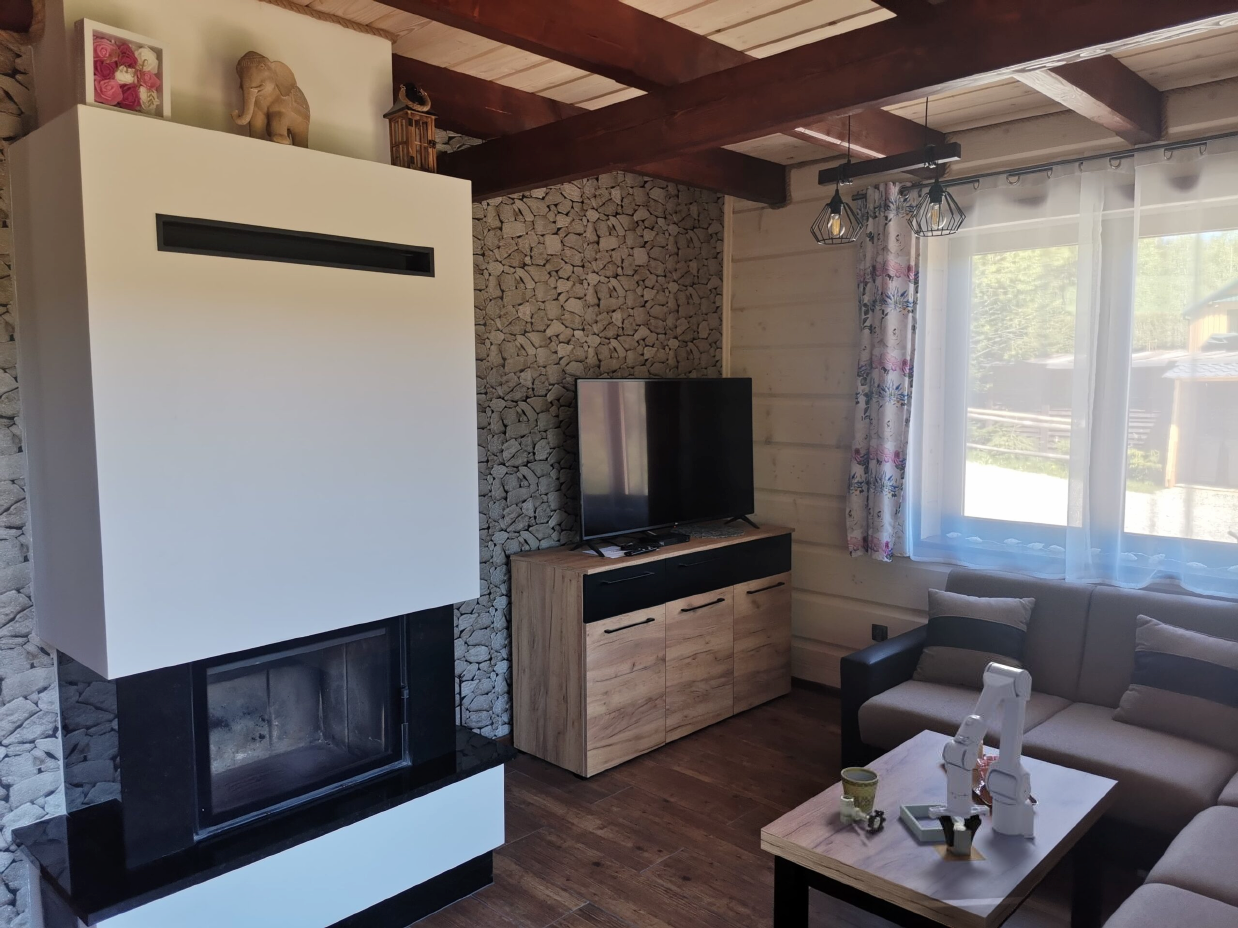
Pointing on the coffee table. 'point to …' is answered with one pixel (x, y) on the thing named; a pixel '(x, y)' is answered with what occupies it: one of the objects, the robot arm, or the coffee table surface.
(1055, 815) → the coffee table surface
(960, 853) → the grey rectangular block
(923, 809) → the bin
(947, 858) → the stud block
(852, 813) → the valve
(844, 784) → the ceramic cup
